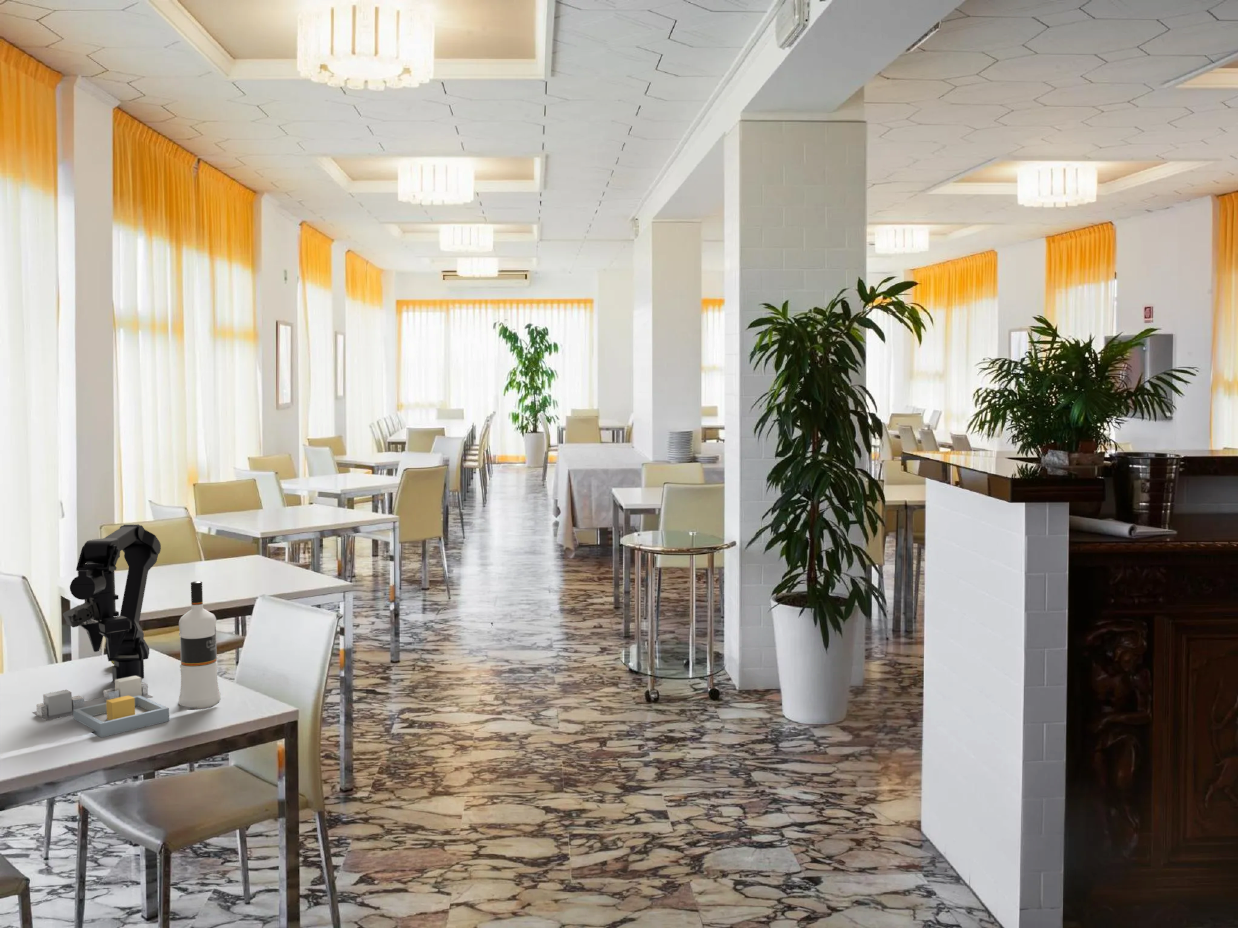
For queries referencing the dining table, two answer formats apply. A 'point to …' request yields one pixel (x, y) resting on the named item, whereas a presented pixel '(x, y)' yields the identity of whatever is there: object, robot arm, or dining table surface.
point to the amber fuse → (120, 707)
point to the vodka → (198, 654)
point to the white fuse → (129, 686)
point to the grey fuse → (58, 702)
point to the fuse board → (86, 702)
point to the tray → (123, 724)
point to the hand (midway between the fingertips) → (104, 654)
